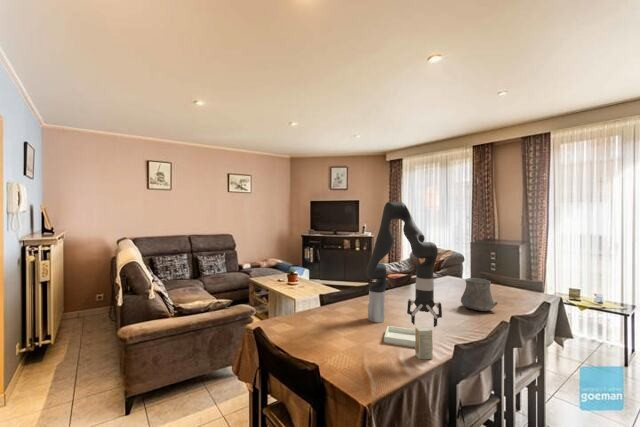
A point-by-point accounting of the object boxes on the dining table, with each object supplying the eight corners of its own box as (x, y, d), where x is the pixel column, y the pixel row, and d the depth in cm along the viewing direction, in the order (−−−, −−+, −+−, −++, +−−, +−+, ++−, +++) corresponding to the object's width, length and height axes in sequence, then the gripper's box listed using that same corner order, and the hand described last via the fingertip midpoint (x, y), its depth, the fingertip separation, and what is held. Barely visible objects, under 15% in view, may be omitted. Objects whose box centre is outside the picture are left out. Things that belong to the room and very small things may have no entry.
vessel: (495, 317, 190) (495, 284, 190) (457, 310, 204) (457, 280, 204) (499, 309, 207) (500, 279, 208) (464, 303, 221) (465, 275, 221)
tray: (383, 342, 147) (384, 336, 147) (387, 331, 162) (387, 325, 162) (432, 350, 140) (432, 343, 140) (431, 337, 155) (431, 331, 155)
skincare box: (428, 354, 135) (429, 327, 135) (432, 359, 130) (433, 330, 131) (414, 354, 134) (414, 326, 135) (418, 359, 130) (418, 330, 130)
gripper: (407, 288, 132) (406, 326, 131) (442, 291, 127) (442, 330, 127) (407, 284, 139) (407, 320, 138) (441, 287, 134) (441, 324, 134)
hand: (424, 325), depth 133 cm, fingers open, 8 cm apart
